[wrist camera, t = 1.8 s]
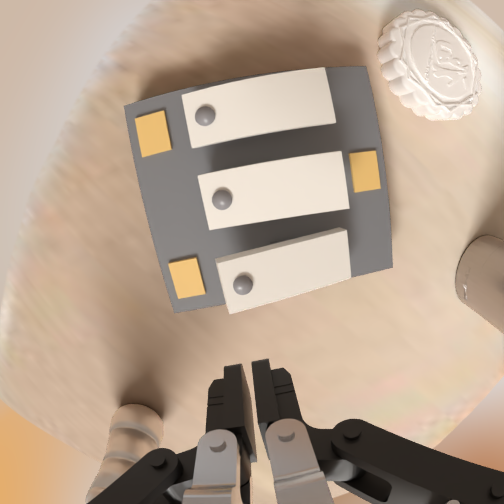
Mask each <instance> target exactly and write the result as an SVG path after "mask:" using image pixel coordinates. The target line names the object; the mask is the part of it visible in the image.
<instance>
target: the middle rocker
mask: <svg viewBox="0 0 504 504" xmlns="http://www.w3.org/2000/svg"><path fill="white" fill-rule="evenodd" d="M198 181H199V185H200V190H201V195H202V199H203V204H204V208H205V213H206V217H207V222H208V226H209V230H214V229H220V228H226V227H232V226H238V225H244V224H250V223H257V222H263V221H269V220H276V219H282V218H289V217H295V216H302V215H308V214H315V213H322V212H329V211H336V210H343V209H349V200H348V193H347V185H346V178H345V171H344V165H343V158H342V152H341V151H335V152H327V153H319V154H312V155H305V156H299V157H292V158H286V159H280V160H274V161H268V162H262V163H256V164H251V165H246V166H240V167H235V168H230V169H225V170H220V171H215V172H210V173H206V174H201V175H198Z"/></svg>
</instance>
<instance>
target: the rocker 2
mask: <svg viewBox="0 0 504 504" xmlns="http://www.w3.org/2000/svg"><path fill="white" fill-rule="evenodd" d="M215 261H216V265H217V269H218V273H219V277H220V281H221V285H222V290H223V294H224V298H225V302H226V306H227V309H228V311H229V314H233V313H237V312H240V311H244V310H248V309H251V308H255V307H258V306H262V305H265V304H269V303H272V302H276V301H279V300H283V299H286V298H289V297H293V296H296V295H299V294H303V293H306V292H309V291H313V290H316V289H319V288H322V287H325V286H329V285H332V284H335V283H338V282H341V281H344V280H347V279H350V278H351V268H350V257H349V246H348V236H347V230H345V229H343V228H340V227H338V228H334V229H331V230H327V231H323V232H319V233H315V234H311V235H307V236H303V237H299V238H295V239H291V240H287V241H283V242H279V243H275V244H271V245H267V246H263V247H259V248H255V249H251V250H247V251H243V252H239V253H236V254H232V255H228V256H224V257H220V258H216V259H215Z"/></svg>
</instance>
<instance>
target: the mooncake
mask: <svg viewBox="0 0 504 504" xmlns="http://www.w3.org/2000/svg"><path fill="white" fill-rule="evenodd" d="M382 32H383V35H382V36H381V37H379V39H378V45H379V47H380V50H379V51H378V54H377V57H378V60H379V61H380V63H381V64H382V67H381V72H382V75H383V76H384V78H385V79H387V80H388V81H389V88H390V90H391V91H392V92H393V93H394V94H395V95H398V96H399V99H400V102H401V103H402V104H403V105H404V106H405V107H408V108H412V111H413V112H414V113H415V114H416V115H418V116H426V118H427V119H429V120H432V121H435V120H455V119H460V118H462V117H463V115H468V114H470V113H471V112H472V109H473V107H474V106H476V105H477V104H478V100H479V99H478V95H479V94H480V93H481V89H482V88H481V84H480V82H479V81H480V80H481V72H480V70H479V68H478V60H477V58H476V56H475V55H474V53H472V49H471V45H470V44H469V42H468V41H467V40H466V39H464V38H463V36H462V33H461V32H460V31H459V30H458V29H457V28H456V27H453V26H452V25H451V24H450V22H449V21H448V20H447V19H445V18H443V17H438V16H437V15H436V14H435V13H434V12H431V11H427V12H424V11H423V10H420V9H415V10H413V11H412V12H410V11H405V12H403V13H402V14H400V15H399V16H398V17H396V18H395V19H393V20H392V21H391V22H390V23H389V24H388V25H386V26H385V27H384V28H383V31H382Z"/></svg>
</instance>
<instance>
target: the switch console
mask: <svg viewBox="0 0 504 504" xmlns="http://www.w3.org/2000/svg"><path fill="white" fill-rule="evenodd" d="M300 70H304V69H300ZM290 71H297V70H290ZM290 71H281V72H273V73H265V74H258V75H252V76H245V77H239V78H233V79H228V80H223V81H218V82H213V83H208V84H203V85H199V86H194V87H190V88H186V89H181V90H177V91H174V92H170V93H166V94H162V95H159V96H155V97H151V98H148V99H145V100H141V101H138V102H135V103H132V104H128V105H125V106H124V110H125V115H126V121H127V127H128V132H129V138H130V143H131V148H132V153H133V158H134V163H135V168H136V172H137V177H138V181H139V186H140V190H141V194H142V199H143V203H144V207H145V211H146V215H147V219H148V223H149V227H150V231H151V235H152V238H153V242H154V246H155V250H156V253H157V257H158V260H159V264H160V267H161V271H162V274H163V278H164V281H165V284H166V288H167V291H168V294H169V297H170V300H171V304H172V307H173V310H174V313H179V312H184V311H190V310H196V309H201V308H207V307H213V306H218V305H223V304H226V302H225V298H224V294H223V290H222V285H221V281H220V277H219V273H218V269H217V265H216V261H215V259H216V258H220V257H224V256H228V255H232V254H236V253H239V252H243V251H247V250H251V249H255V248H259V247H263V246H267V245H271V244H275V243H279V242H283V241H287V240H291V239H295V238H299V237H303V236H307V235H311V234H315V233H319V232H323V231H327V230H331V229H334V228H338V227H340V228H343V229H345V230H347V236H348V246H349V257H350V268H351V277H356V276H360V275H364V274H368V273H372V272H376V271H381V270H385V269H389V268H393V262H392V239H391V223H390V210H389V199H388V189H387V180H386V172H385V164H384V157H383V150H382V143H381V137H380V131H379V125H378V120H377V114H376V109H375V104H374V99H373V94H372V89H371V85H370V80H369V76H368V72H367V68H366V66H351V67H327V68H325V71H326V75H327V80H328V84H329V89H330V93H331V98H332V103H333V108H334V113H335V118H336V123H334V124H327V125H319V126H312V127H305V128H298V129H291V130H285V131H279V132H273V133H267V134H261V135H256V136H251V137H246V138H240V139H236V140H231V141H226V142H221V143H217V144H212V145H208V146H203V147H199V148H192V147H191V142H190V137H189V132H188V127H187V122H186V117H185V111H184V106H183V101H182V95H183V94H187V93H190V92H194V91H198V90H202V89H205V88H209V87H213V86H218V85H222V84H226V83H230V82H235V81H240V80H244V79H249V78H254V77H260V76H265V75H271V74H277V73H283V72H290ZM335 151H341V152H342V158H343V165H344V171H345V178H346V185H347V193H348V200H349V209H343V210H336V211H329V212H322V213H315V214H308V215H302V216H295V217H289V218H282V219H276V220H269V221H263V222H257V223H250V224H244V225H238V226H232V227H226V228H220V229H214V230H209V226H208V222H207V217H206V213H205V208H204V204H203V199H202V195H201V190H200V185H199V181H198V175H201V174H206V173H210V172H215V171H220V170H225V169H230V168H235V167H240V166H246V165H251V164H256V163H262V162H268V161H274V160H280V159H286V158H292V157H299V156H305V155H312V154H319V153H327V152H335Z"/></svg>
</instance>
